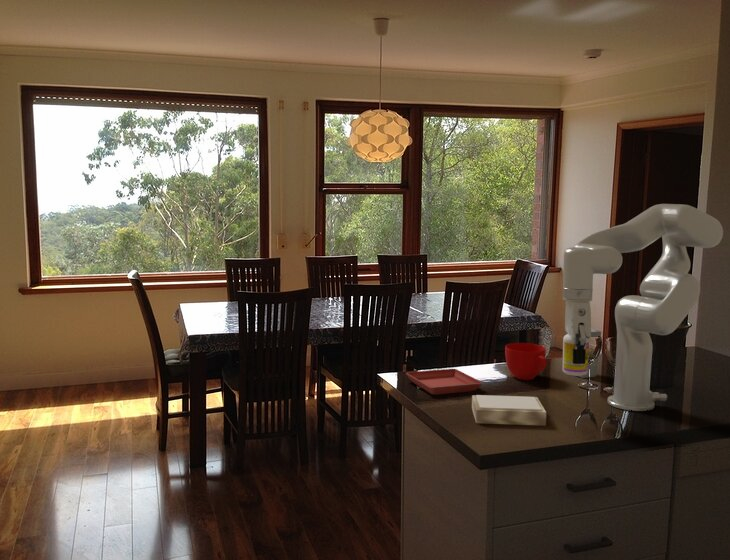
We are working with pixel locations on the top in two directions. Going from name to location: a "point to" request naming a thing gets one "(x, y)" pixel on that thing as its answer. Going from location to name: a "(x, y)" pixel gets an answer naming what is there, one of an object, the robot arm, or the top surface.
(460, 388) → the plant saucer
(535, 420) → the birch base
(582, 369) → the supplement bottle
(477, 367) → the top surface
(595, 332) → the skincare box
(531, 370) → the ceramic cup
